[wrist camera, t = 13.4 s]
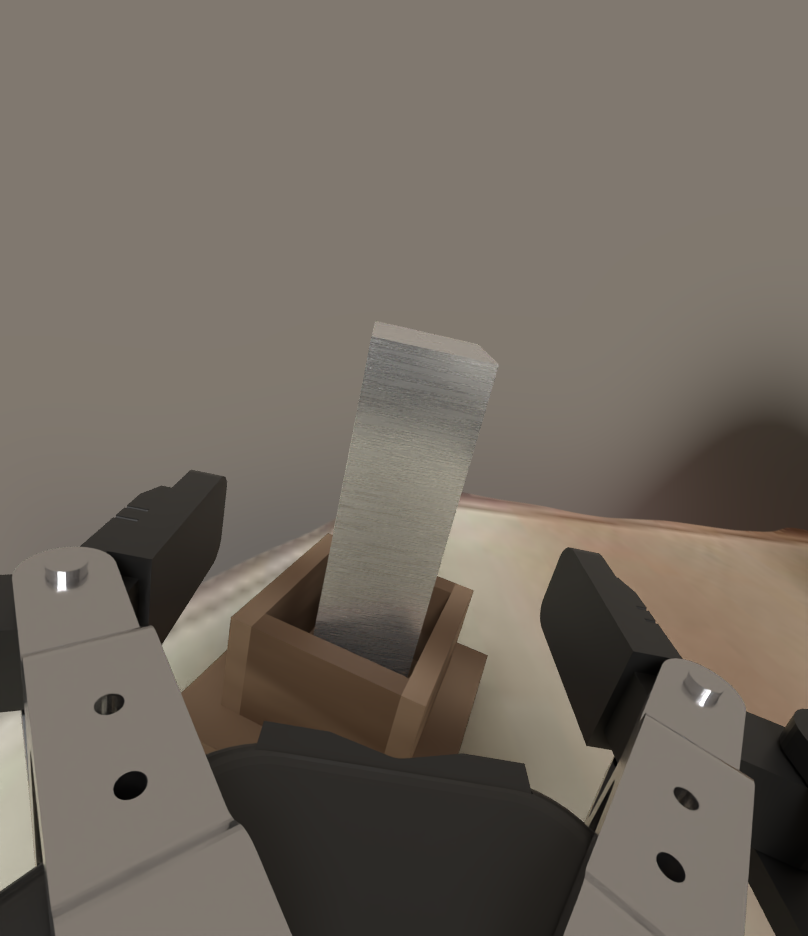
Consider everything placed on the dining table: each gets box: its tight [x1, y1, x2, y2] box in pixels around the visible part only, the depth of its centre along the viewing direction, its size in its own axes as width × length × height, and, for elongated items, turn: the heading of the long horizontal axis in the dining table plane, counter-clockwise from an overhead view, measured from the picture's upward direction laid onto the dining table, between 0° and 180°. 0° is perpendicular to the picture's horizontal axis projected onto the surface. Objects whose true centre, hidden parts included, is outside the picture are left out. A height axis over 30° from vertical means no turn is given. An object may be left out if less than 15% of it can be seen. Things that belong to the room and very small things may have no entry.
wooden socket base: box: [181, 533, 488, 758], centre depth 20 cm, size 10×10×6 cm
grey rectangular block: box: [313, 321, 499, 677], centre depth 18 cm, size 4×4×14 cm
